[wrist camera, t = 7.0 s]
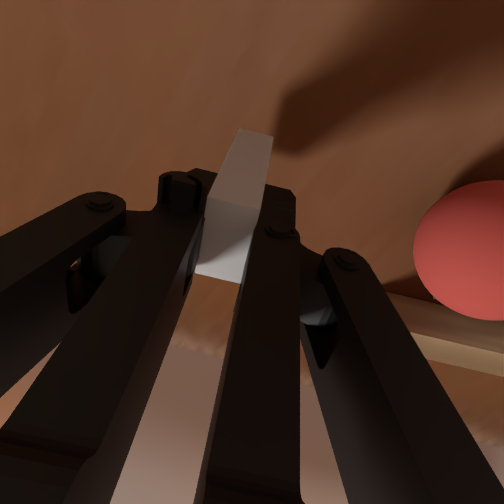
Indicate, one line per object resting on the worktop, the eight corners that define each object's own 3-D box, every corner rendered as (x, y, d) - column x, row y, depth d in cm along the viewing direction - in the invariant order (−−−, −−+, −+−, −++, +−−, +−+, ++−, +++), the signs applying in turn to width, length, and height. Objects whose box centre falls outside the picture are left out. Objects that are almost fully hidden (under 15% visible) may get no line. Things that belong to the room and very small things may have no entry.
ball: (598, 191, 16) (459, 140, 17) (654, 270, 11) (460, 193, 13) (506, 287, 20) (397, 239, 21) (520, 373, 15) (381, 307, 16)
